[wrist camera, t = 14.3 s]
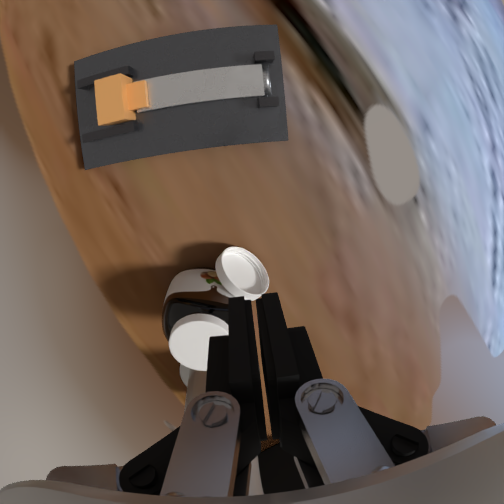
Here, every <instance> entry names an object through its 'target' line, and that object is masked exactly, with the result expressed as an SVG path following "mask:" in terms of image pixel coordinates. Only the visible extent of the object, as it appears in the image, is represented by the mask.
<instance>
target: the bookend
mask: <svg viewBox="0 0 504 504" xmlns="http://www.w3.org/2000/svg"><path fill="white" fill-rule="evenodd" d="M258 463H259V471H260V478H261V483H262V488H263V492H264V494H272V493H280V492H288V491H294V490H301V489H306V488H305V486H304V483H303V481H302V478H301V476H300V473H299V471H298V468H297V466H296V463H295V460H294V456H293V455H291V454H289V453H288V452H286V451H284V450H282V447H280V443H279V444H277V445H275V446H273V447H271V448H269V449H267V450H265V451H263V452H261V453H260V454H259V455H258Z"/></svg>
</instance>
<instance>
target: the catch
mask: <svg viewBox="0 0 504 504" xmlns="http://www.w3.org/2000/svg"><path fill="white" fill-rule="evenodd" d="M94 85H95V98H96V109H97V119H98V126H105V125H116V124H120V123H124V122H129V121H133V120H136V114H135V110H138V109H143V108H148V107H149V101H148V90H147V81H145V80H142V81H138V82H132V78H130V77H128V76H125V75H123V74H121V73H119V74H116V75H112V76H108V77H105V78H102V79H98V80H95V81H94Z"/></svg>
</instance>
